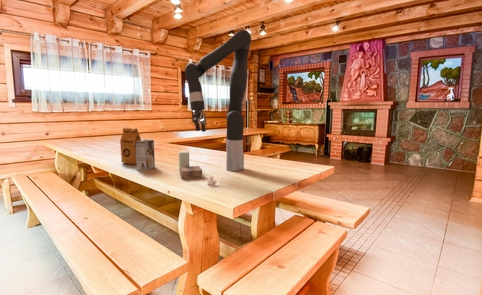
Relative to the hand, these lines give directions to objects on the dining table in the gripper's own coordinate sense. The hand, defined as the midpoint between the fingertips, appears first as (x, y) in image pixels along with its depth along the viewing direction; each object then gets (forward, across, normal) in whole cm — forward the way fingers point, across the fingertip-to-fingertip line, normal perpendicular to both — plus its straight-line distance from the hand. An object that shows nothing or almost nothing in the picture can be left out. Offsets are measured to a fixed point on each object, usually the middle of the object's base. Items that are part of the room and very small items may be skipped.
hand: (201, 131), depth 143 cm
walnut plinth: (+23, -8, +6) cm, 25 cm away
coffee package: (+12, +11, +52) cm, 54 cm away
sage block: (+20, 0, +13) cm, 24 cm away
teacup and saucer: (+28, -17, -10) cm, 34 cm away
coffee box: (+16, 0, +36) cm, 40 cm away
